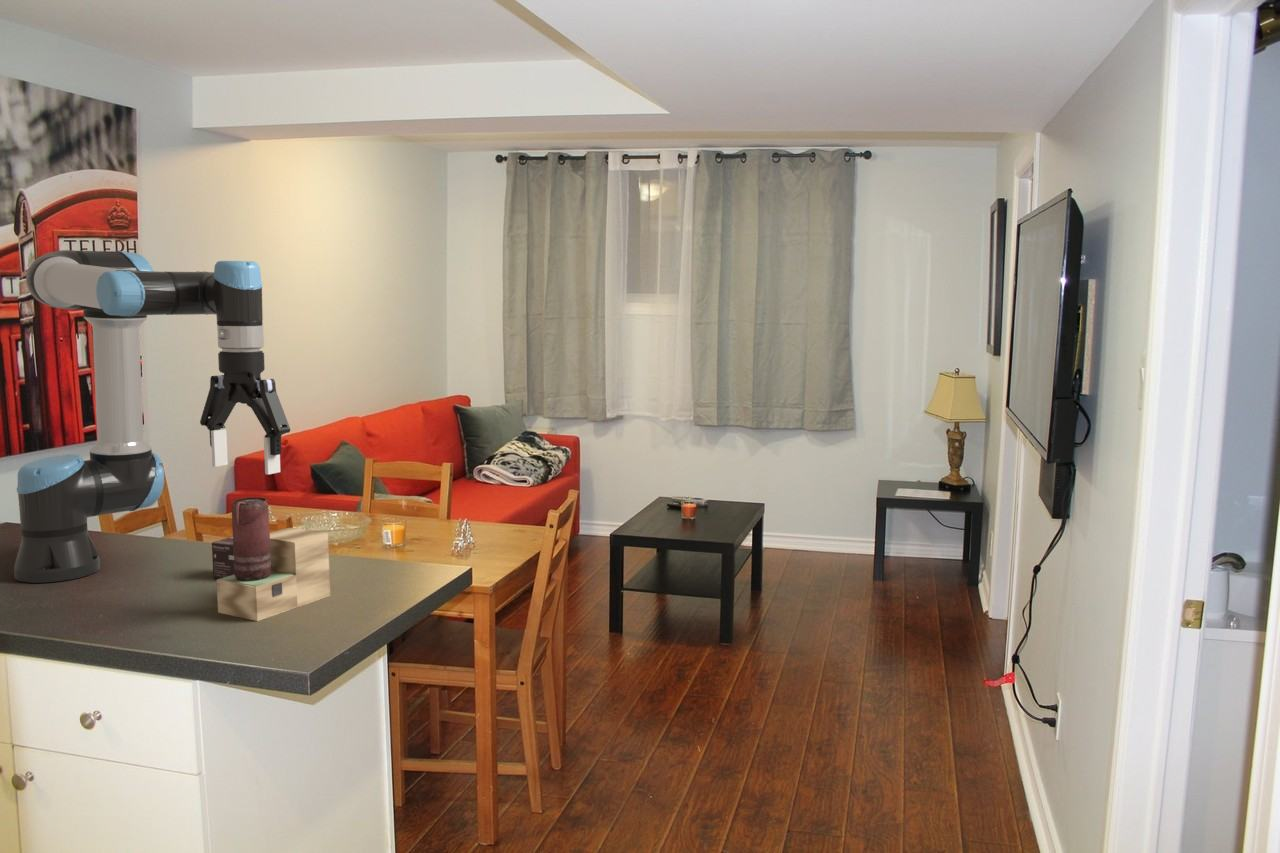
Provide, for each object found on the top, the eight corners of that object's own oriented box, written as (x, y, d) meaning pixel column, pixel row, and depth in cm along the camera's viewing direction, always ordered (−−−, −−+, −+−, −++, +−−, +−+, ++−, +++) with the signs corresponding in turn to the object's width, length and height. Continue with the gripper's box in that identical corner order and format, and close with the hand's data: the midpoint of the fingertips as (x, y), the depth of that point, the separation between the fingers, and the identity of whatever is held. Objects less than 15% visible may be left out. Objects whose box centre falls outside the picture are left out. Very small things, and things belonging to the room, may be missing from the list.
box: (212, 578, 205) (210, 542, 204) (234, 570, 211) (232, 535, 210) (236, 581, 203) (234, 545, 202) (258, 574, 209) (256, 538, 208)
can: (226, 580, 181) (223, 502, 179) (247, 571, 187) (244, 495, 185) (258, 582, 180) (254, 504, 178) (277, 573, 186) (274, 497, 184)
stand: (218, 612, 183) (214, 546, 182) (292, 588, 198) (289, 527, 196) (258, 621, 178) (255, 553, 177) (331, 596, 193) (328, 533, 192)
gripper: (175, 348, 183) (181, 465, 186) (274, 354, 171) (278, 479, 174) (211, 346, 190) (216, 459, 193) (308, 351, 178) (312, 473, 181)
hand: (246, 469), depth 183 cm, fingers open, 13 cm apart
